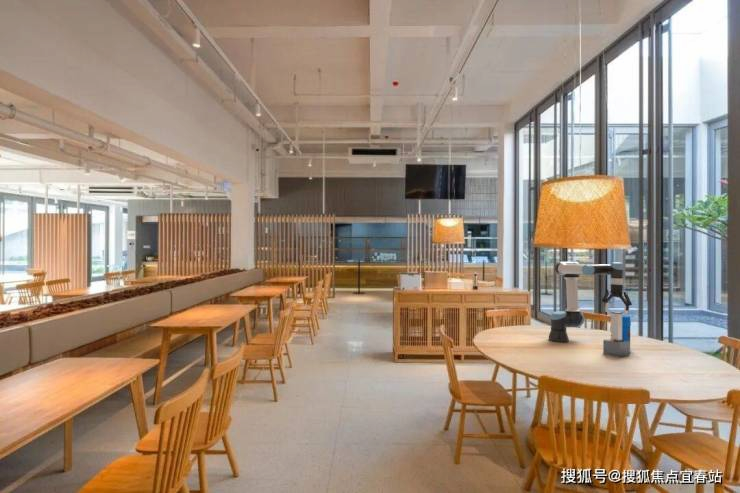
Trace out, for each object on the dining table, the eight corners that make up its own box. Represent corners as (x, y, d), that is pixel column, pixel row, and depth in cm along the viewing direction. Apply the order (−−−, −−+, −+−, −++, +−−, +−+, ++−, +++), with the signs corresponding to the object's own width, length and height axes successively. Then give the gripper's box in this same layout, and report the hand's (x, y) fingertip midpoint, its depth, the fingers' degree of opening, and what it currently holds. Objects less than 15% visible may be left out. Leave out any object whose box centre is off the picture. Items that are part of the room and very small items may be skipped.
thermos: (625, 347, 318) (625, 314, 318) (633, 350, 307) (633, 317, 307) (610, 346, 319) (611, 314, 319) (617, 350, 309) (617, 317, 308)
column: (610, 342, 299) (610, 311, 298) (614, 341, 302) (615, 311, 301) (617, 344, 294) (617, 313, 294) (622, 343, 297) (622, 312, 297)
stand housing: (603, 353, 300) (603, 338, 300) (613, 351, 306) (613, 336, 306) (620, 357, 290) (620, 341, 290) (629, 355, 296) (629, 339, 295)
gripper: (596, 282, 307) (596, 311, 307) (631, 286, 285) (631, 316, 285) (602, 282, 310) (602, 310, 311) (637, 285, 288) (637, 315, 289)
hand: (616, 313), depth 298 cm, fingers open, 13 cm apart
